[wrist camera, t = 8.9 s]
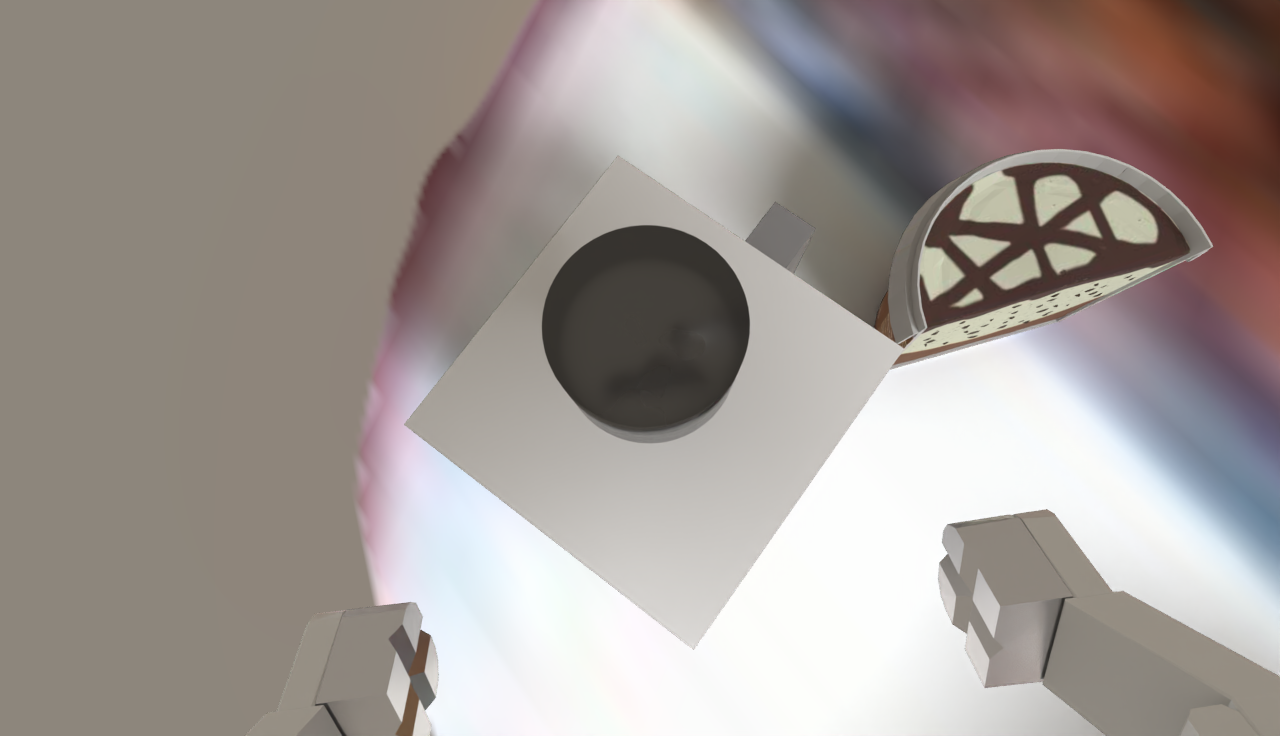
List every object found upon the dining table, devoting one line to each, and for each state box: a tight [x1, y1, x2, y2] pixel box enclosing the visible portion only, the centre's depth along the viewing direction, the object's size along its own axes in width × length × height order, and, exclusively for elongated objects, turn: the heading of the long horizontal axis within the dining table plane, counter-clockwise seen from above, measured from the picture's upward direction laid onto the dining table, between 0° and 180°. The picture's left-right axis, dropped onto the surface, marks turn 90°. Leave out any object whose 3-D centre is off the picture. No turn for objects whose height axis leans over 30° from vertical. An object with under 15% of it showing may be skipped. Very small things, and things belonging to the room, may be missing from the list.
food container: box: [874, 149, 1213, 370], centre depth 35 cm, size 12×6×10 cm, turn 106°
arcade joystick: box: [404, 156, 904, 650], centre depth 30 cm, size 13×10×17 cm
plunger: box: [542, 225, 750, 444], centre depth 25 cm, size 4×4×20 cm
